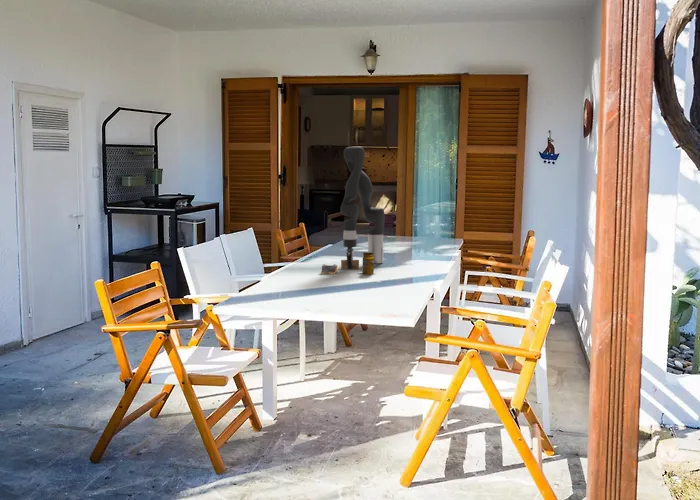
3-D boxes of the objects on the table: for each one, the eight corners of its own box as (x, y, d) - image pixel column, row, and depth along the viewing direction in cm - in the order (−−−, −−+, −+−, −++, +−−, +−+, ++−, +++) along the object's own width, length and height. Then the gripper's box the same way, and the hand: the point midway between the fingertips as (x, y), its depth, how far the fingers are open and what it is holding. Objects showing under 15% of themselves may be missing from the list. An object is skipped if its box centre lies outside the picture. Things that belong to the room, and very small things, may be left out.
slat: (359, 268, 399) (359, 259, 399) (358, 269, 397) (358, 260, 396) (341, 268, 400) (341, 259, 400) (341, 269, 398) (341, 260, 397)
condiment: (376, 274, 379) (376, 252, 377) (364, 275, 374) (364, 253, 373) (369, 272, 385) (369, 251, 383) (356, 273, 380) (356, 252, 379)
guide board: (340, 267, 402) (340, 260, 401) (335, 273, 380) (335, 265, 379) (326, 267, 402) (326, 259, 402) (320, 273, 381) (320, 265, 380)
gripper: (355, 239, 389) (355, 270, 391) (357, 236, 403) (357, 266, 405) (342, 239, 390) (342, 270, 392) (344, 236, 404) (344, 266, 406)
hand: (350, 268), depth 399 cm, fingers closed on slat, 3 cm apart
